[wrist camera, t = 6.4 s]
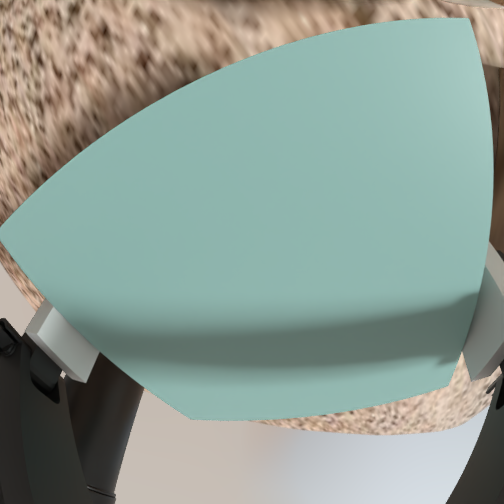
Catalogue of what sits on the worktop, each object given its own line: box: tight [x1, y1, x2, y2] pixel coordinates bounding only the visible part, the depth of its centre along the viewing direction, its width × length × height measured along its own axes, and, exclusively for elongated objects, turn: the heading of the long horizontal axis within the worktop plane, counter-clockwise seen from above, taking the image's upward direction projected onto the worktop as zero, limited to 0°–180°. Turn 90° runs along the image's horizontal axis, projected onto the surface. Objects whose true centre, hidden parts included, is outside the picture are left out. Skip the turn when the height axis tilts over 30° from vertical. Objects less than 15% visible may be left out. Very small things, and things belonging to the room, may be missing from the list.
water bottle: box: [64, 352, 144, 504], centre depth 22 cm, size 10×10×23 cm
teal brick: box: [0, 18, 493, 421], centre depth 9 cm, size 11×11×6 cm
